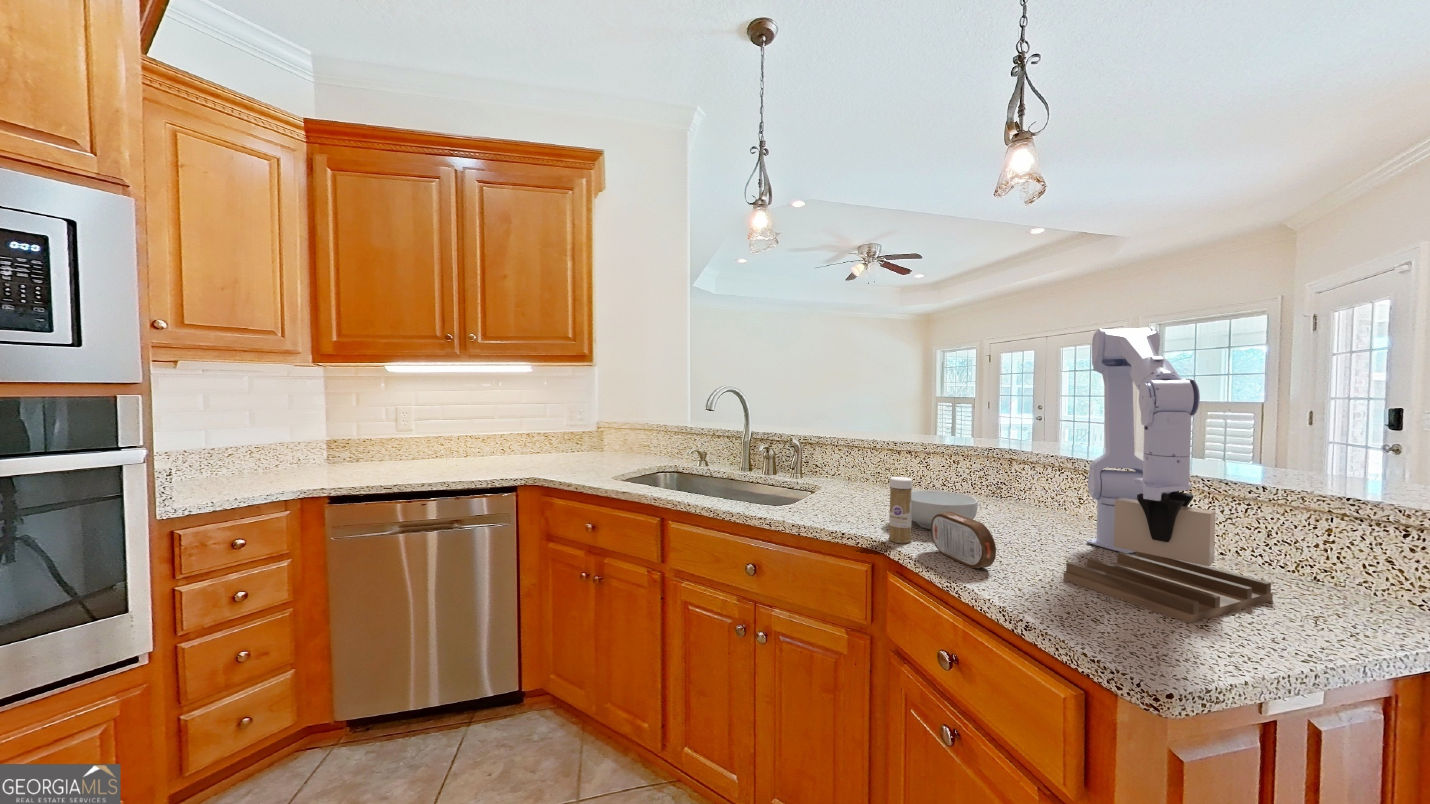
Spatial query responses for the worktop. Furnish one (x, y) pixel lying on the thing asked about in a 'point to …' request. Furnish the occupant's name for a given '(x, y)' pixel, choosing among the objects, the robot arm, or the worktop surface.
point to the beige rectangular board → (1186, 542)
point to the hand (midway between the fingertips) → (1164, 538)
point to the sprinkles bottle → (900, 509)
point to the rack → (1170, 585)
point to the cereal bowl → (940, 505)
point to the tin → (963, 539)
